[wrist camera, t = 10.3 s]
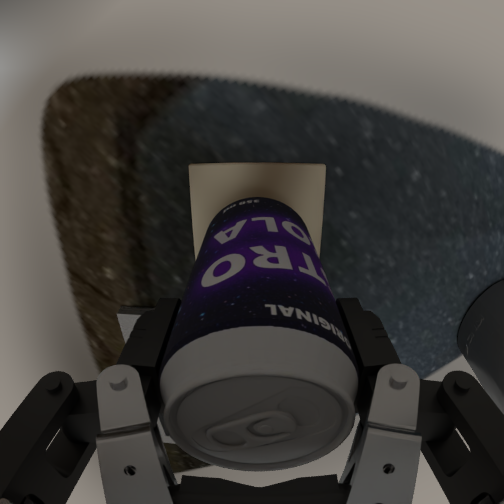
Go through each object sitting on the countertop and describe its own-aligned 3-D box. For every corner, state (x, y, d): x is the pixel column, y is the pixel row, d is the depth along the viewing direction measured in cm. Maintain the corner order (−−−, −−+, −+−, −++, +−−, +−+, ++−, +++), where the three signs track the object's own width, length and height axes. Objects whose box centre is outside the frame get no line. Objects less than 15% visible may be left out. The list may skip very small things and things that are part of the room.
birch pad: (323, 164, 19) (325, 165, 18) (315, 280, 22) (316, 284, 21) (190, 164, 19) (188, 165, 18) (199, 280, 22) (198, 284, 22)
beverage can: (324, 257, 18) (391, 439, 8) (240, 299, 20) (229, 486, 9) (276, 172, 16) (318, 314, 5) (186, 225, 18) (103, 400, 7)
